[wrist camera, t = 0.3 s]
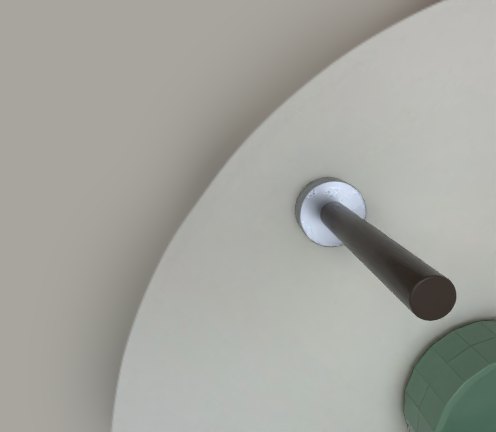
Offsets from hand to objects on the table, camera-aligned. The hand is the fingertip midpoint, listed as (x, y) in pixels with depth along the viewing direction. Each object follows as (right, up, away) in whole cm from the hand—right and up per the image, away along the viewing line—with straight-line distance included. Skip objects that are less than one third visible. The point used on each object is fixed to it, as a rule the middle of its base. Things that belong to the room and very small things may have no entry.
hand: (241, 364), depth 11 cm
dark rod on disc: (+6, +4, +26) cm, 27 cm away
